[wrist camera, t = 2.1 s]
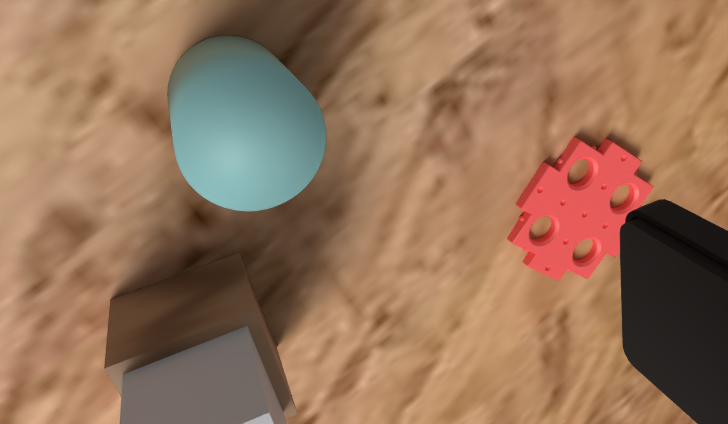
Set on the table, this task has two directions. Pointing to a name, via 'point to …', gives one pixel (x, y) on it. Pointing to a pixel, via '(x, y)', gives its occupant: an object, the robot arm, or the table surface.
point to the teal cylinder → (243, 125)
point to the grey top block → (203, 386)
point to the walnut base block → (190, 321)
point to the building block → (578, 208)
